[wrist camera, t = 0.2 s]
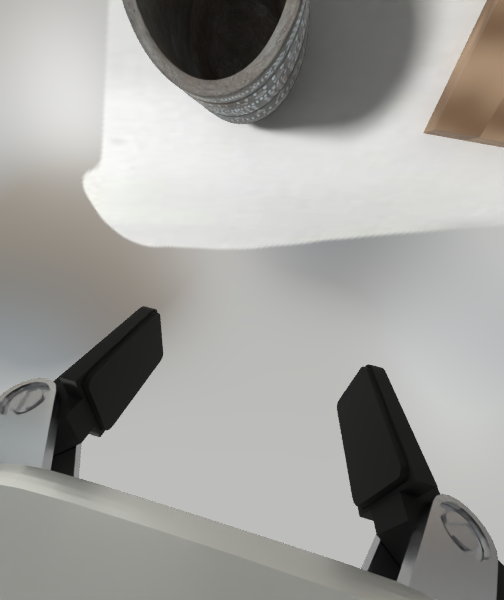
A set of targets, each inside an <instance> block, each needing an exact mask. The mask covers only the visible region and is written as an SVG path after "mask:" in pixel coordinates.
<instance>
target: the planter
mask: <svg viewBox="0 0 504 600" xmlns="http://www.w3.org/2000/svg"><path fill="white" fill-rule="evenodd" d="M122 1H123V4H124V8H125V10H126V13H127V16H128V18H129V21H130V23H131V25H132V28H133V30H134V32H135V34H136V36H137V38H138V40H139V42H140V44H141V45H142V47H143V49H144V50H145V52H146V53H147V55H148V56H149V58H150V59H151V61H152V62H153V63H154V64H155V66H156V67H157V68H158V69H159V70H160V71H161V72H162V73H163V74H164V75H165V76H166V77H167V78H168V79H169V80H170V81H171V82H173V83H174V84H175V85H176V86H178V87H179V88H181V89H182V90H183V91H184V92H186V93H187V94H188V95H189V96H190V97H192V98H193V99H194V100H196V101H197V102H199V103H200V104H201V105H203V106H204V107H205V108H206V109H208V110H209V111H210V112H211V113H213V114H214V115H216V116H218V117H219V118H221V119H223V120H225V121H228V122H231V123H236V124H248V123H252V122H256V121H258V120H261V119H263V118H265V117H266V116H268V115H269V114H270V113H272V112H273V111H274V110H275V109H276V108H277V107H278V106H279V105H280V104H281V103H282V102H283V100H284V99H285V98H286V96H287V95H288V93H289V92H290V90H291V88H292V87H293V85H294V83H295V81H296V78H297V76H298V73H299V71H300V68H301V65H302V61H303V58H304V53H305V48H306V43H307V35H308V27H309V12H310V0H122Z"/></svg>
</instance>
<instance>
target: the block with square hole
mask: <svg viewBox="0 0 504 600" xmlns="http://www.w3.org/2000/svg"><path fill="white" fill-rule="evenodd" d="M424 133H426V134H432V135H438V136H443V137H449V138H454V139H460V140H466V141H471V142H477V143H482V144H488V145H494V146H499V147H504V0H487V2H486V4H485V6H484V8H483V10H482V12H481V14H480V16H479V18H478V20H477V23H476V25H475V27H474V29H473V31H472V33H471V35H470V37H469V39H468V41H467V43H466V45H465V48H464V50H463V52H462V54H461V56H460V58H459V60H458V62H457V64H456V66H455V68H454V70H453V73H452V75H451V77H450V79H449V81H448V83H447V85H446V87H445V89H444V91H443V93H442V95H441V98H440V100H439V102H438V104H437V106H436V108H435V110H434V112H433V114H432V116H431V118H430V120H429V123H428V125H427V127H426V129H425V131H424Z"/></svg>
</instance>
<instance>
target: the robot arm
mask: <svg viewBox="0 0 504 600" xmlns="http://www.w3.org/2000/svg"><path fill="white" fill-rule="evenodd" d="M162 356H163V346H162V333H161V322H160V314H159V313H157V310H156V309H152V308H149V307H144V306H143V307H141V308H140V309H138V310H137V311H136V312H135V313H134V314H132V315H131V316H130V317H129V318H128V319H127V320H125V321H124V322H123V323H122V324H121V325H120V326H119V327H117V328H116V329H115V330H114V331H112V332H111V333H110V334H109V335H108V336H107V337H106V338H104V339H103V340H102V341H101V342H99V343H98V344H97V345H96V346H95V347H94V348H92V349H91V350H90V351H89V352H88V353H86V354H85V355H84V356H83V357H82V358H81V359H79V360H78V361H77V362H76V363H75V364H73V365H72V366H71V367H70V368H69V369H68V370H66V371H65V372H64V373H63V374H62V375H61V376H59V377H58V378H57V379H56V380H55V381H52V380H50V379H47V378H37V379H31V380H28V381H25V382H22V383H20V384H17V385H15V386H13V387H12V388H10V389H9V390H7V391H6V392H4V393H3V394H2V395H1V396H0V600H504V565H503V564H501V563H500V561H499V560H498V557H497V551H496V548H495V546H494V543H493V541H492V539H491V537H490V535H489V533H488V532H487V530H486V528H485V527H484V526H483V524H482V523H481V522H480V521H479V519H478V518H477V517H476V516H475V515H474V514H473V513H472V512H471V511H470V510H469V509H468V507H466V506H465V505H464V504H462V503H461V502H460V501H459V500H457V499H455V498H453V497H451V496H449V495H444V494H441V495H440V493H439V491H438V488H437V485H436V482H435V480H434V478H433V476H432V473H431V471H430V469H429V467H428V465H427V462H426V460H425V458H424V456H423V454H422V451H421V449H420V447H419V445H418V443H417V441H416V438H415V436H414V434H413V431H412V429H411V427H410V425H409V423H408V420H407V418H406V416H405V414H404V412H403V409H402V407H401V405H400V403H399V401H398V398H397V396H396V394H395V392H394V390H393V387H392V385H391V383H390V381H389V379H388V377H387V374H386V372H385V370H384V369H383V368H380V367H377V366H373V365H366V366H365V367H361V369H360V370H359V372H358V373H357V375H356V376H355V377H354V379H353V380H352V382H351V383H350V385H349V386H348V388H347V390H346V391H345V392H344V394H343V395H342V397H341V398H340V400H339V401H338V404H337V411H338V417H339V423H340V429H341V434H342V440H343V446H344V451H345V457H346V463H347V469H348V474H349V480H350V486H351V492H352V497H353V501H354V503H355V505H356V506H358V510H359V515H360V517H363V518H367V519H370V520H373V521H374V524H375V529H376V533H377V534H376V536H375V538H374V541H373V543H372V545H371V547H370V550H369V552H368V554H367V556H366V559H365V561H364V564H363V565H362V568H361V569H360V568H356V567H354V566H351V565H348V564H345V563H342V562H339V561H336V560H333V559H330V558H327V557H324V556H321V555H318V554H315V553H312V552H309V551H306V550H302V549H299V548H296V547H293V546H290V545H287V544H284V543H281V542H278V541H275V540H272V539H269V538H266V537H262V536H260V535H256V534H253V533H250V532H247V531H244V530H241V529H238V528H234V527H232V526H228V525H225V524H222V523H219V522H216V521H213V520H209V519H207V518H203V517H200V516H197V515H194V514H191V513H188V512H184V511H182V510H178V509H175V508H172V507H169V506H166V505H163V504H159V503H156V502H153V501H150V500H147V499H144V498H141V497H137V496H134V495H131V494H128V493H125V492H121V491H118V490H115V489H112V488H109V487H106V486H102V485H99V484H96V483H93V482H89V481H86V480H82V479H79V468H80V453H81V443H82V441H83V440H84V439H85V438H86V436H87V435H88V434H91V435H94V436H98V437H101V435H102V434H103V433H104V431H105V430H109V429H110V428H111V427H112V426H113V425H114V423H115V422H116V421H117V419H118V418H119V417H120V415H121V414H122V413H123V411H124V410H125V409H126V407H127V406H128V404H129V403H130V402H131V400H132V399H133V398H134V396H135V395H136V394H137V392H138V391H139V389H140V388H141V387H142V385H143V384H144V383H145V381H146V380H147V379H148V377H149V376H150V374H151V373H152V372H153V370H154V369H155V368H156V366H157V365H158V364H159V362H160V361H161V359H162Z"/></svg>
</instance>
